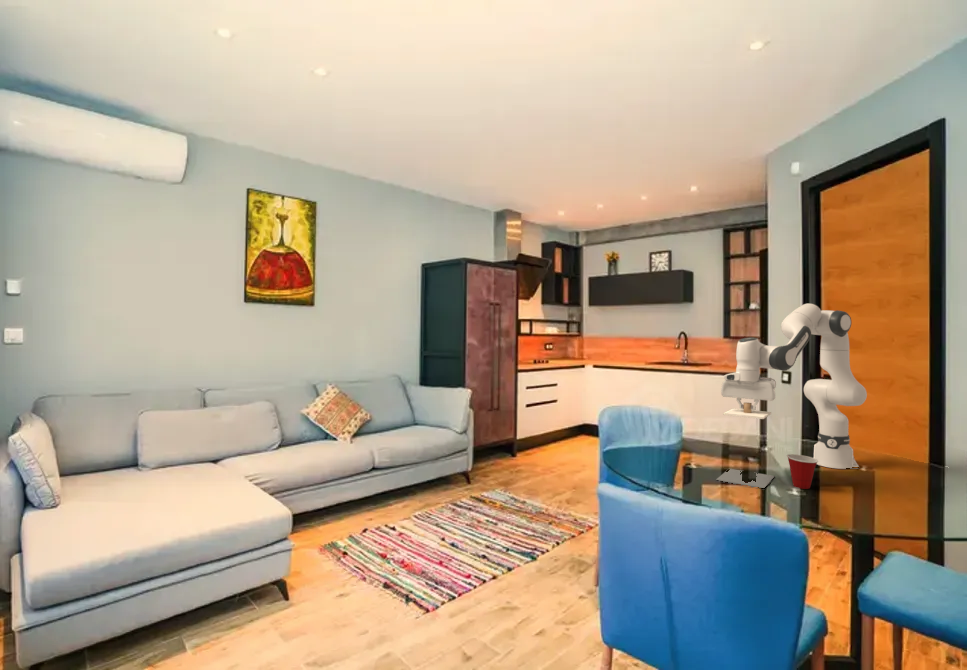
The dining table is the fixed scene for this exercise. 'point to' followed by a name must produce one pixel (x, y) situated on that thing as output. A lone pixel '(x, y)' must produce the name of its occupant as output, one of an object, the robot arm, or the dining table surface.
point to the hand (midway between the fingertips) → (747, 409)
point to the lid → (747, 412)
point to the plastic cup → (801, 470)
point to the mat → (736, 478)
